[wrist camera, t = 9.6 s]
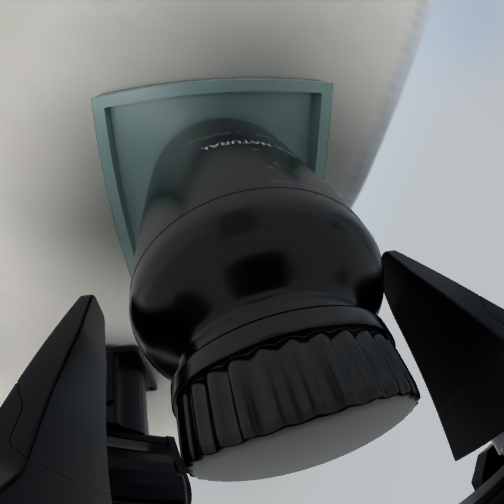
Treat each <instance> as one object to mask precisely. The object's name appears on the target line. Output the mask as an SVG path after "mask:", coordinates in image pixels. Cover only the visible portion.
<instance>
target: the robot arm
mask: <svg viewBox="0 0 504 504" xmlns="http://www.w3.org/2000/svg"><path fill="white" fill-rule="evenodd" d="M382 262H383V268H384V294H385V296H386V299H387V301H388V304H389V306H390V309H391V311H392V314H393V316H394V318H395V320H396V322H397V324H398V326H399V328H400V330H401V332H402V334H403V336H404V337H405V340H406V342H407V344H408V346H409V348H410V350H411V353H412V355H413V357H414V359H415V361H416V363H417V366H418V368H419V370H420V372H421V374H422V377H423V379H424V381H425V383H426V386H427V388H428V391H429V393H430V395H431V397H432V400H433V403H434V405H435V408H436V410H437V412H438V415H439V418H440V421H441V423H442V426H443V428H444V431H445V434H446V437H447V439H448V442H449V445H450V448H451V451H452V454H453V457H454V459H455V461H457V460H459V459H461V458H462V457H464V456H466V455H468V454H470V453H471V452H473V451H475V450H476V449H478V448H480V447H481V446H483V445H485V444H486V443H488V442H489V441H492V444H491V445H489V446H488V447H487V448H486V449H485V450H484V451H483V452H481V453H480V454H479V455H478V458H477V462H476V467H475V471H474V475H473V479H472V482H471V483H472V485H473V487H474V490H475V491H474V492H473V493H472V494H471V495H470V496H468V497H467V498H466V499H465V500H464V501H462V502H461V503H459V504H504V309H502V308H500V307H499V306H497V305H495V304H493V303H492V302H490V301H488V300H486V299H485V298H483V297H481V296H479V295H478V294H475V293H474V292H472V291H471V290H469V289H467V288H465V287H463V286H462V285H459V284H458V283H456V282H454V281H453V280H451V279H449V278H447V277H445V276H443V275H442V274H440V273H438V272H436V271H434V270H432V269H430V268H428V267H426V266H424V265H422V264H421V263H419V262H417V261H415V260H413V259H411V258H409V257H407V256H405V255H403V254H401V253H399V252H397V251H394V250H393V251H387V252H384V253H383V255H382ZM155 390H157V383H156V381H155V380H154V378H153V376H152V374H151V372H150V370H149V368H148V366H147V364H146V362H145V360H144V358H143V356H142V354H141V352H140V350H139V349H138V348H136V347H123V348H111V349H106V348H105V320H104V315H103V313H102V310H101V308H100V306H99V304H98V302H97V300H96V298H95V296H94V295H85V296H81V297H80V298H79V299H78V300H77V301H76V302H75V304H74V305H73V306H72V307H71V309H70V310H69V311H68V312H67V314H66V315H65V316H64V317H63V319H62V320H61V321H60V323H59V324H58V325H57V326H56V328H55V329H54V330H53V332H52V333H51V334H50V336H49V337H48V338H47V340H46V341H45V342H44V344H43V345H42V347H41V348H40V349H39V351H38V352H37V353H36V355H35V356H34V358H33V359H32V361H31V362H30V363H29V365H28V366H27V368H26V369H25V371H24V372H23V374H22V375H21V377H20V378H19V380H18V383H16V384H15V386H14V387H13V389H12V390H11V392H10V393H9V395H8V396H7V398H6V399H5V401H4V403H3V404H2V406H1V407H0V504H191V500H192V499H191V498H192V494H191V486H190V482H189V479H188V476H187V474H186V473H185V471H184V468H183V465H182V460H181V457H180V454H179V451H178V448H177V445H176V442H175V439H174V437H171V436H166V437H160V436H152V435H149V431H148V418H147V402H146V391H155Z"/></svg>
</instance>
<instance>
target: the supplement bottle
mask: <svg viewBox="0 0 504 504" xmlns="http://www.w3.org/2000/svg"><path fill="white" fill-rule="evenodd" d="M383 293H384V268H383V262H382V258H381V254H380V252H379V248H378V246H377V244H376V242H375V240H374V238H373V236H372V235H371V233H370V232H369V231H368V229H367V228H366V227H365V225H364V224H363V223H362V222H361V220H360V219H359V218H358V217H357V215H356V214H355V213H354V212H353V211H352V210H351V209H350V208H349V207H348V206H347V205H346V204H345V203H344V202H343V201H342V200H341V199H340V198H339V197H338V196H337V194H336V193H335V192H334V191H333V190H332V189H331V188H330V187H329V186H328V185H327V184H326V183H325V182H324V181H323V180H322V179H321V178H320V177H319V176H317V175H316V174H315V173H314V172H313V171H312V170H311V169H310V168H309V167H308V166H307V165H306V164H305V163H304V162H303V161H302V160H301V159H300V158H299V157H298V156H297V155H295V154H294V153H293V152H292V151H291V150H290V149H289V148H288V147H287V146H286V145H285V144H283V143H282V142H281V141H280V140H279V139H278V138H276V137H275V136H274V135H273V134H271V133H270V132H269V131H267V130H266V129H264V128H262V127H260V126H258V125H256V124H253V123H251V122H248V121H244V120H239V119H230V118H223V119H213V120H209V121H204V122H201V123H199V124H196V125H194V126H192V127H190V128H188V129H186V130H184V131H183V132H181V133H180V134H179V135H177V136H176V137H175V138H174V139H173V140H172V141H171V142H170V143H169V144H168V145H167V146H166V147H165V149H164V150H163V151H162V153H161V154H160V156H159V158H158V160H157V162H156V164H155V166H154V169H153V172H152V175H151V179H150V182H149V186H148V191H147V195H146V200H145V204H144V209H143V214H142V219H141V224H140V229H139V234H138V240H137V246H136V252H135V258H134V264H133V271H132V278H131V285H130V300H129V315H130V323H131V327H132V331H133V334H134V336H135V339H136V341H137V343H138V345H139V347H140V349H141V351H142V352H143V354H144V355H145V357H146V358H147V360H148V361H149V362H150V363H151V364H152V366H153V367H154V368H155V369H156V370H157V371H158V372H159V373H161V374H162V375H163V376H164V377H166V378H167V379H168V380H170V381H171V404H172V411H173V414H174V416H175V417H176V419H177V428H178V437H179V445H180V453H181V460H182V465H183V468H184V471H185V473H188V474H190V476H192V477H197V478H198V479H202V480H209V481H222V482H227V481H248V480H257V479H264V478H270V477H276V476H281V475H285V474H289V473H293V472H297V471H301V470H305V469H308V468H311V467H314V466H317V465H320V464H323V463H325V462H328V461H331V460H333V459H336V458H338V457H341V456H343V455H345V454H348V453H350V452H352V451H354V450H356V449H358V448H360V447H362V446H364V445H366V444H368V443H369V442H371V441H373V440H374V439H376V438H378V437H380V436H381V435H383V434H384V433H386V432H387V431H388V430H390V429H392V428H393V427H394V426H396V425H397V424H398V423H399V422H401V421H402V420H403V419H404V418H405V417H406V416H407V415H408V414H409V413H410V412H412V411H413V408H414V407H415V406H416V405H417V404H418V400H419V399H420V393H419V391H418V388H417V385H416V383H415V381H414V379H413V377H412V375H411V374H410V372H409V370H408V368H407V366H406V365H405V363H404V361H403V359H402V358H401V356H400V354H399V353H398V351H397V349H396V346H395V341H394V338H393V336H392V334H391V333H390V331H389V330H388V328H387V326H386V325H385V323H384V322H383V321H382V319H381V318H380V317H378V313H379V310H380V307H381V304H382V299H383Z"/></svg>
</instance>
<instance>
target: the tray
mask: <svg viewBox="0 0 504 504" xmlns="http://www.w3.org/2000/svg"><path fill="white" fill-rule="evenodd" d="M332 88H333V83H329V82H324V81H320V80H310V79H294V78H220V79H204V80H191V81H181V82H172V83H164V84H157V85H150V86H143V87H137V88H131V89H126V90H121V91H116V92H111V93H106V94H101V95H99V96H97V97H94V98H92V99H91V101H92V109H93V117H94V124H95V130H96V137H97V143H98V148H99V154H100V159H101V164H102V169H103V174H104V179H105V184H106V188H107V193H108V197H109V201H110V205H111V210H112V214H113V217H114V221H115V225H116V229H117V233H118V236H119V240H120V243H121V247H122V250H123V254H124V257H125V260H126V264H127V267H128V270H129V273H130V276H131V278H132V271H133V264H134V258H135V252H136V246H137V240H138V234H139V229H140V224H141V219H142V214H143V209H144V204H145V200H146V195H147V191H148V186H149V182H150V179H151V175H152V172H153V169H154V166H155V164H156V162H157V160H158V158H159V156H160V154H161V153H162V151H163V150H164V149H165V147H166V146H167V145H168V144H169V143H170V142H171V141H172V140H173V139H174V138H175V137H176V136H177V135H179V134H180V133H181V132H183V131H184V130H186V129H188V128H190V127H192V126H194V125H196V124H199V123H201V122H204V121H209V120H213V119H223V118H230V119H239V120H244V121H248V122H251V123H253V124H256V125H258V126H260V127H262V128H264V129H266V130H267V131H269V132H270V133H271V134H273V135H274V136H275V137H276V138H278V139H279V140H280V141H281V142H282V143H283V144H285V145H286V146H287V147H288V148H289V149H290V150H291V151H292V152H293V153H294V154H295V155H297V156H298V157H299V158H300V159H301V160H302V161H303V162H304V163H305V164H306V165H307V166H308V167H309V168H310V169H311V170H312V171H313V172H314V173H315V174H316V175H317V176H319V177H320V178H321V179H322V180H323V181H324V172H325V164H326V155H327V145H328V135H329V125H330V114H331V101H332Z"/></svg>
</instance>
